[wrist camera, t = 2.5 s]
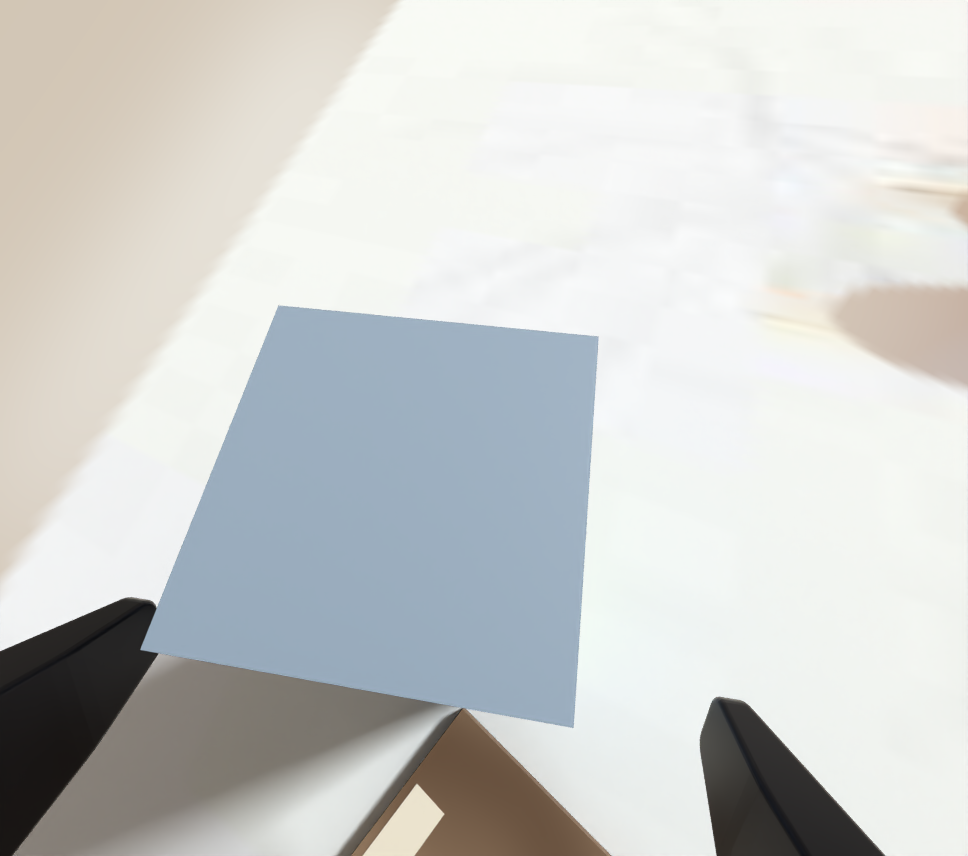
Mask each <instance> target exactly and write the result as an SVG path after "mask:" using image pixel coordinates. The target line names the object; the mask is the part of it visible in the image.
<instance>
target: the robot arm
mask: <svg viewBox="0 0 968 856" xmlns="http://www.w3.org/2000/svg"><path fill="white" fill-rule="evenodd" d="M156 609H157V608H156V605H155V604H154V603H153V602H152V601H150V600H146V599H140V598H133V597H128V598H124V599H121V600H119V601H117V602H114V603H112V604H110V605H107V606H105V607H103V608H100V609H98V610H96V611H93V612H91V613H89V614H86V615H84V616H82V617H79V618H77V619H75V620H72V621H70V622H68V623H65V624H63V625H61V626H58V627H56V628H54V629H51V630H49V631H47V632H44V633H42V634H40V635H37V636H35V637H33V638H30V639H28V640H26V641H23V642H21V643H19V644H16V645H14V646H12V647H9V648H7V649H5V650H2V651H0V856H13V854H14V853H15V852H16V850H17V849H18V848H19V847H20V845H21V844H22V843H23V841H24V840H25V839H26V838H27V836H28V835H29V834H30V832H31V831H32V830H33V829H34V827H35V826H36V825H37V823H38V822H39V821H40V820H41V818H42V817H43V816H44V814H45V813H46V812H47V811H48V809H49V808H50V807H51V805H52V804H53V803H54V802H55V800H56V799H57V798H58V796H59V795H60V794H61V793H62V791H63V790H64V789H65V787H66V786H67V785H68V784H69V782H70V781H71V780H72V778H73V777H74V776H75V775H76V773H77V772H78V771H79V769H80V768H81V767H82V766H83V764H84V763H85V762H86V760H87V759H88V758H89V756H90V755H91V754H92V752H93V751H94V750H95V748H96V747H97V745H98V744H99V742H100V741H101V740H102V738H103V737H104V735H105V734H106V732H107V731H108V729H109V728H110V726H111V725H112V723H113V722H114V720H115V719H116V717H117V716H118V714H119V713H120V711H121V710H122V708H123V707H124V705H125V704H126V702H127V701H128V699H129V698H130V696H131V695H132V693H133V692H134V690H135V688H136V687H137V685H138V684H139V682H140V681H141V679H142V678H143V676H144V675H145V673H146V672H147V670H148V669H149V667H150V666H151V664H152V663H153V661H154V660H155V658H156V657H157V655H158V653H155V652H149V651H144V650H140V649H141V646H142V644H143V642H144V639H145V637H146V634H147V632H148V629H149V627H150V624H151V622H152V619H153V617H154V614H155V612H156ZM700 753H701V760H702V766H703V772H704V779H705V785H706V791H707V798H708V804H709V810H710V817H711V823H712V829H713V836H714V842H715V848H716V855H717V856H885V855H884V854H883V853H882V851H881V850H880V849H879V848H878V847H877V846H876V845H875V844H874V843H873V842H872V840H871V839H870V838H869V837H868V836H867V835H866V834H865V833H864V832H863V830H862V829H861V828H860V827H859V826H858V825H857V824H856V823H855V822H854V821H853V819H852V818H851V817H850V816H849V815H848V814H847V813H846V812H845V811H844V810H843V808H842V807H841V806H840V805H839V804H838V803H837V802H836V801H835V800H834V799H833V797H832V796H831V795H830V794H829V793H828V792H827V791H826V790H825V789H824V787H823V786H822V785H821V784H820V783H819V782H818V781H817V780H816V779H815V778H814V776H813V775H812V774H811V773H810V772H809V771H808V770H807V769H806V768H805V767H804V765H803V764H802V763H801V762H800V761H799V760H798V759H797V758H796V757H795V755H794V754H793V753H792V752H791V751H790V750H789V749H788V748H787V747H786V746H785V744H784V743H783V742H782V741H781V740H780V739H779V738H778V737H777V736H776V735H775V733H774V732H773V731H772V730H771V729H770V728H769V727H768V726H767V725H766V723H765V722H764V721H763V720H762V719H761V718H760V717H759V716H758V715H757V714H756V712H755V711H754V710H753V709H752V708H751V707H750V706H749V705H748V704H746V703H745V702H743V701H741V700H736V699H730V698H724V697H716V698H714V699H713V701H712V703H711V705H710V708H709V711H708V714H707V717H706V720H705V723H704V726H703V728H702V731H701V735H700Z"/></svg>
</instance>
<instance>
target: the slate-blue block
mask: <svg viewBox="0 0 968 856" xmlns="http://www.w3.org/2000/svg"><path fill="white" fill-rule="evenodd" d="M597 353H598V337H597V336H587V335H577V334H566V333H556V332H546V331H536V330H525V329H515V328H505V327H494V326H484V325H474V324H464V323H453V322H443V321H433V320H422V319H412V318H402V317H391V316H381V315H371V314H361V313H350V312H340V311H330V310H319V309H309V308H299V307H288V306H278V308H277V311H276V313H275V316H274V318H273V321H272V323H271V326H270V328H269V331H268V333H267V336H266V338H265V341H264V343H263V346H262V348H261V351H260V353H259V356H258V358H257V360H256V363H255V365H254V368H253V370H252V373H251V375H250V378H249V380H248V383H247V385H246V388H245V390H244V393H243V395H242V398H241V400H240V403H239V405H238V408H237V410H236V413H235V415H234V418H233V420H232V423H231V425H230V428H229V430H228V433H227V435H226V438H225V440H224V443H223V445H222V448H221V450H220V452H219V455H218V457H217V460H216V462H215V465H214V467H213V470H212V472H211V475H210V477H209V480H208V482H207V485H206V487H205V490H204V492H203V495H202V497H201V500H200V502H199V505H198V507H197V510H196V512H195V515H194V517H193V520H192V522H191V525H190V527H189V530H188V532H187V535H186V537H185V540H184V542H183V545H182V547H181V549H180V552H179V554H178V557H177V559H176V562H175V564H174V567H173V569H172V572H171V574H170V577H169V579H168V582H167V584H166V587H165V589H164V592H163V594H162V597H161V599H160V602H159V604H158V607H157V609H156V612H155V614H154V617H153V619H152V622H151V624H150V627H149V629H148V632H147V634H146V637H145V639H144V642H143V644H142V646H141V649H140V650H144V651H149V652H155V653H160V654H166V655H172V656H177V657H183V658H188V659H194V660H199V661H205V662H210V663H216V664H222V665H227V666H233V667H238V668H244V669H249V670H255V671H260V672H266V673H272V674H277V675H283V676H288V677H294V678H299V679H305V680H310V681H316V682H322V683H327V684H333V685H338V686H344V687H349V688H355V689H360V690H366V691H372V692H377V693H383V694H388V695H394V696H399V697H405V698H410V699H416V700H422V701H427V702H433V703H438V704H444V705H449V706H455V707H460V708H466V709H472V710H477V711H483V712H488V713H494V714H499V715H505V716H510V717H516V718H522V719H527V720H533V721H538V722H544V723H549V724H555V725H560V726H566V727H572V728H574V712H575V697H576V681H577V665H578V650H579V634H580V618H581V603H582V587H583V572H584V556H585V540H586V525H587V509H588V493H589V478H590V462H591V446H592V431H593V415H594V400H595V384H596V368H597Z"/></svg>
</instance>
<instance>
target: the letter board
mask: <svg viewBox="0 0 968 856" xmlns="http://www.w3.org/2000/svg"><path fill="white" fill-rule="evenodd" d="M351 856H611V855H610V854H609V853H608V852H607V851H606V850H605V849H604V848H603V847H602V846H601V845H600V844H599V843H598V842H597V841H596V840H595V839H594V838H593V837H592V836H591V835H590V834H589V833H588V832H587V831H586V830H585V829H584V828H583V827H582V826H581V825H580V824H579V823H578V822H577V821H576V820H575V819H574V818H573V817H572V816H571V815H570V814H569V812H568V811H567V810H566V809H565V808H564V807H563V806H562V805H561V804H560V803H559V802H558V801H557V800H556V799H555V798H554V797H553V796H552V795H551V794H550V793H549V792H548V791H547V790H546V789H545V788H544V787H543V786H542V785H541V784H540V783H539V782H538V781H537V780H536V779H535V778H534V777H533V776H532V775H531V774H530V773H529V772H528V771H527V770H526V769H525V768H524V767H523V766H522V765H521V764H520V763H519V762H518V761H517V760H516V759H515V758H514V757H513V756H512V755H511V754H510V753H509V752H508V751H507V750H506V749H505V748H504V747H503V746H502V745H501V744H500V743H499V742H498V741H497V740H496V739H495V738H494V737H493V736H492V735H491V734H490V733H489V732H488V731H487V730H486V729H485V728H484V727H483V726H482V725H481V724H480V723H479V722H478V721H477V720H476V719H475V718H474V717H473V716H472V715H471V714H470V713H469V712H468V711H467V710H466V709H465V708H463V709H462V710H461V711H460V713H459V714H458V715H457V717H456V718H455V719H454V721H453V722H452V723H451V725H450V726H449V727H448V729H447V730H446V731H445V732H444V734H443V735H442V736H441V738H440V739H439V740H438V742H437V743H436V744H435V746H434V747H433V748H432V750H431V751H430V752H429V754H428V755H427V756H426V757H425V759H424V760H423V761H422V763H421V764H420V765H419V767H418V768H417V769H416V771H415V772H414V773H413V775H412V776H411V777H410V779H409V780H408V781H407V782H406V784H405V785H404V786H403V788H402V789H401V790H400V792H399V793H398V794H397V796H396V797H395V798H394V800H393V801H392V802H391V804H390V805H389V806H388V807H387V809H386V810H385V811H384V813H383V814H382V815H381V817H380V818H379V819H378V821H377V822H376V823H375V825H374V826H373V827H372V829H371V830H370V831H369V832H368V834H367V835H366V836H365V838H364V839H363V840H362V842H361V843H360V844H359V846H358V847H357V848H356V850H355V851H354V852H353V853H352V855H351Z"/></svg>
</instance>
